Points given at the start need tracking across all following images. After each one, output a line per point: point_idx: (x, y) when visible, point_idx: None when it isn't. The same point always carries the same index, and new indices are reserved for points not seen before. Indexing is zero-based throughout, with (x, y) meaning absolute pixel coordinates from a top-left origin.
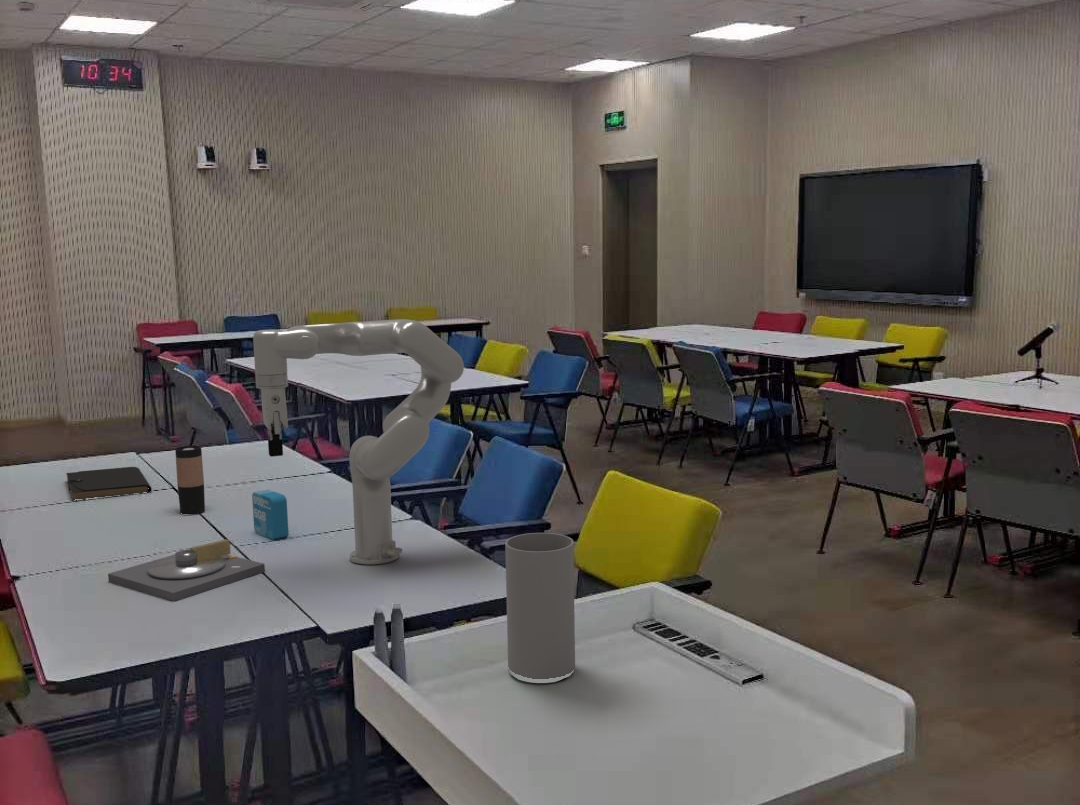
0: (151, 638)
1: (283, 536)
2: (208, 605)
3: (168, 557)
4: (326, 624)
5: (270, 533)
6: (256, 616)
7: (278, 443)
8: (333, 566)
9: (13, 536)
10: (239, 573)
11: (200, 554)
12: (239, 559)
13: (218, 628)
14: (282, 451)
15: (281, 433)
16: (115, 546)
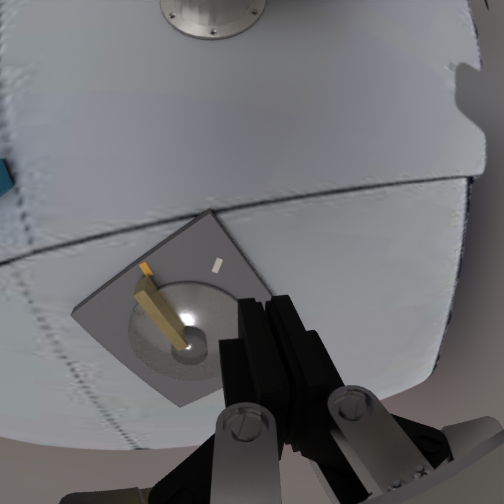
0: (401, 338)
1: (5, 167)
2: (342, 295)
3: (142, 360)
4: (468, 167)
5: (2, 193)
6: (412, 239)
7: (337, 381)
8: (232, 76)
9: (14, 437)
10: (243, 258)
11: (181, 329)
12: (161, 256)
13: (419, 281)
14: (294, 310)
15: (402, 431)
16: (33, 387)
